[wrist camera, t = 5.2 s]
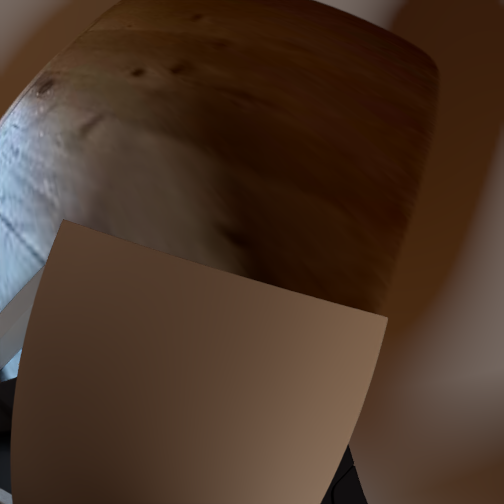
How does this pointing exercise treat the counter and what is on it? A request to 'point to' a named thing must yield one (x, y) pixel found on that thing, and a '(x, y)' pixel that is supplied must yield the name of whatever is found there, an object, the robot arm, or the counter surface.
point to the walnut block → (181, 382)
